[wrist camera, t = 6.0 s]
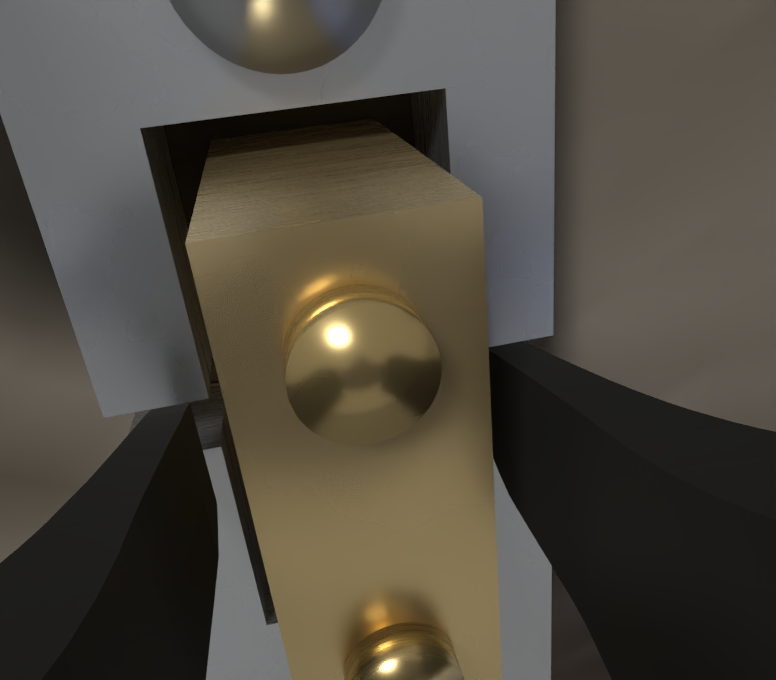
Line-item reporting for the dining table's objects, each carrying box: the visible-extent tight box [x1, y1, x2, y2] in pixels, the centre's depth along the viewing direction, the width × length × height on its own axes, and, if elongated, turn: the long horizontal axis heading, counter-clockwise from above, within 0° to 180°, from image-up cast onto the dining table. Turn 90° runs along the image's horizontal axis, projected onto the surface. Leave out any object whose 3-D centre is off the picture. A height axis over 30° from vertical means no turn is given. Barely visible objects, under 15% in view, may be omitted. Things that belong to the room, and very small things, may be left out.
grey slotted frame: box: [0, 0, 556, 680], centre depth 13 cm, size 18×8×3 cm, turn 6°
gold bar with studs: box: [185, 118, 502, 680], centre depth 11 cm, size 8×3×7 cm, turn 6°
